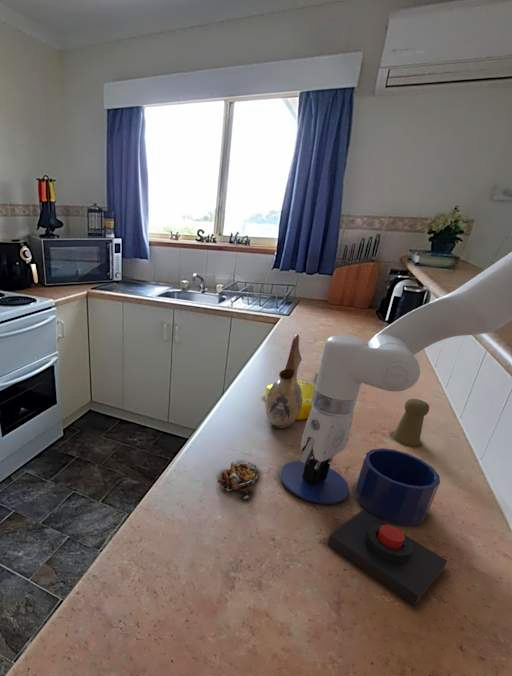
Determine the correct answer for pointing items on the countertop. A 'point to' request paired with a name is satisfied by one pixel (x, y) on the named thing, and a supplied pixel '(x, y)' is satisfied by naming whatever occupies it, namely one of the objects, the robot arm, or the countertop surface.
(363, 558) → the block
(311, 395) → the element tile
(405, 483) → the tin
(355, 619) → the countertop surface
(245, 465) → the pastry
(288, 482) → the blue round disc
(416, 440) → the brown pawn
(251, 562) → the countertop surface
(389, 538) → the release button
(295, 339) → the ceramic vessel
